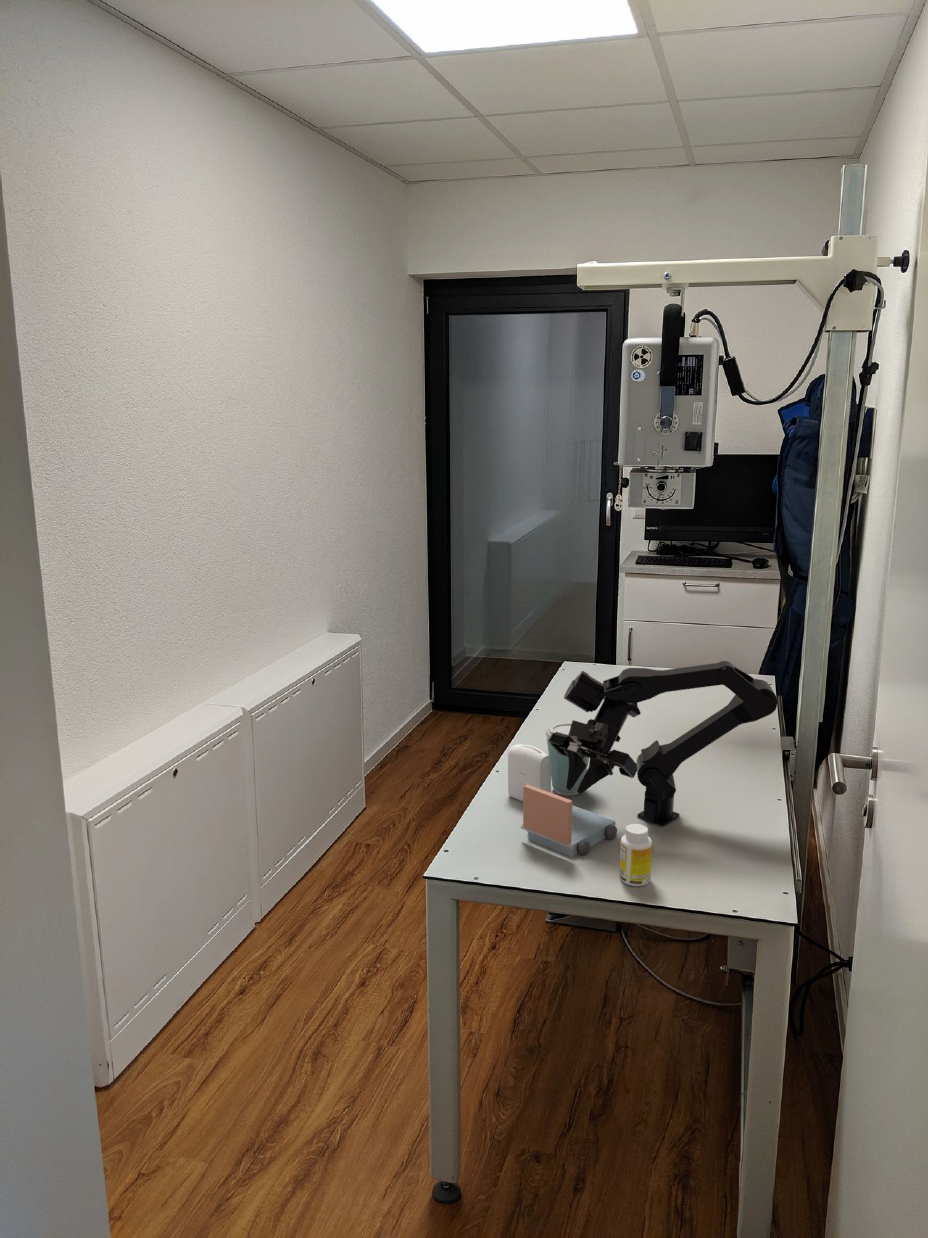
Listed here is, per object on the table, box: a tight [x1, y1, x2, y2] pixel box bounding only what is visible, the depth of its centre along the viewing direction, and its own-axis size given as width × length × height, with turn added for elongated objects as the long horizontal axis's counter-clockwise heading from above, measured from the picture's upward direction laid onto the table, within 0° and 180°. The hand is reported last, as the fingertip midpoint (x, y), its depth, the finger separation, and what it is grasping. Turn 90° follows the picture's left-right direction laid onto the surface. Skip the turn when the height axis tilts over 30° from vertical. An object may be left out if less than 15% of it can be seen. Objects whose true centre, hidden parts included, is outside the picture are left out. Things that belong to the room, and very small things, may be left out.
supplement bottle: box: [619, 823, 653, 887], centre depth 172 cm, size 6×6×10 cm
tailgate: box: [520, 784, 574, 849], centre depth 183 cm, size 1×12×9 cm, turn 46°
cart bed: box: [527, 804, 618, 858], centre depth 190 cm, size 14×14×3 cm
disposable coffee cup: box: [545, 721, 590, 797], centre depth 210 cm, size 11×11×15 cm
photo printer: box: [507, 743, 552, 802], centre depth 205 cm, size 10×4×12 cm, turn 45°
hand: (573, 791), depth 188 cm, fingers open, 2 cm apart
